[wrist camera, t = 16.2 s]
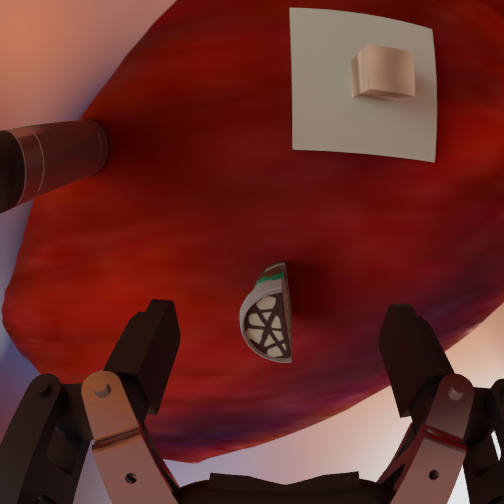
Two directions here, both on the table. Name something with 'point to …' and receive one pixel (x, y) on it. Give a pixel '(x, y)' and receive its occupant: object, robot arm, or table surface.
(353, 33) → the base board
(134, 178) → the table surface
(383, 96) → the birch block
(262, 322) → the food container
